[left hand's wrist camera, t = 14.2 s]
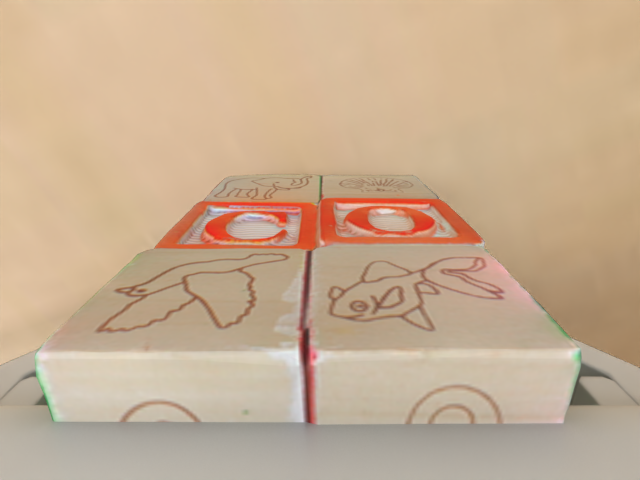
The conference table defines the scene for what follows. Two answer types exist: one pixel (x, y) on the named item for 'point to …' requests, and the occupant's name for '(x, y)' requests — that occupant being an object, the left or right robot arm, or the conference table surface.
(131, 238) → the conference table surface
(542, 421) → the stack of blocks
